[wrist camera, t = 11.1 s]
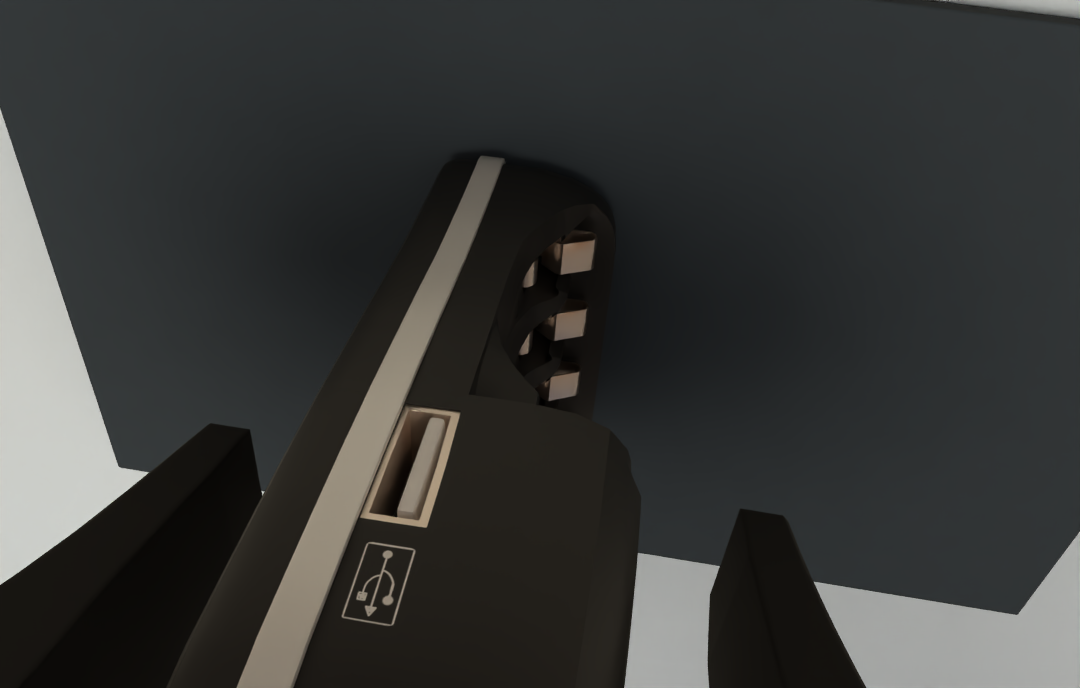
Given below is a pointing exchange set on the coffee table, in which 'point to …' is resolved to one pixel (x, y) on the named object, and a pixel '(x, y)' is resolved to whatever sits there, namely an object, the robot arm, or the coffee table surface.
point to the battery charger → (449, 471)
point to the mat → (641, 241)
